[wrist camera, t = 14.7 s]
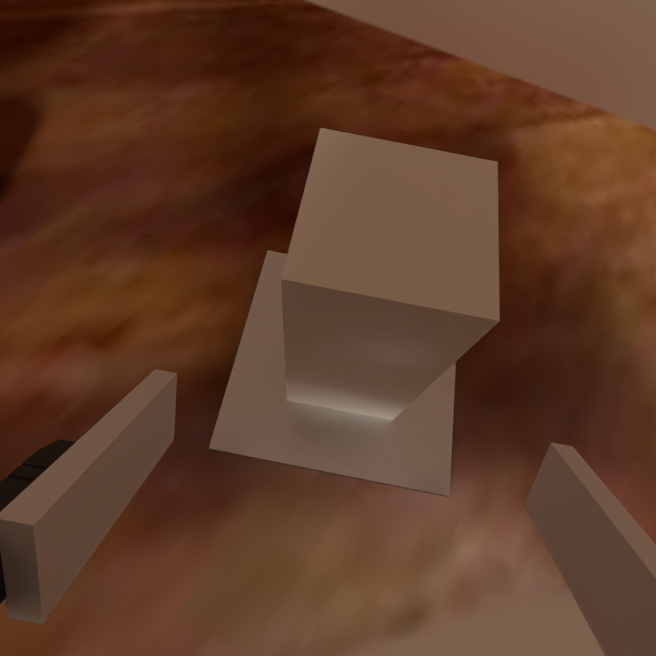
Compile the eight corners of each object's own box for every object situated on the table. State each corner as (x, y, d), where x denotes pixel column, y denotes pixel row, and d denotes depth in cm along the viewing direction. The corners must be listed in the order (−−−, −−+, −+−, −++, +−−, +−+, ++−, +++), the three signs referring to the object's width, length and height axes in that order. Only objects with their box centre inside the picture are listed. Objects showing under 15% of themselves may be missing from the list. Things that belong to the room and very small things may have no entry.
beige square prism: (286, 400, 21) (281, 279, 10) (307, 306, 23) (320, 127, 13) (392, 420, 21) (499, 320, 10) (402, 325, 23) (497, 161, 13)
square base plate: (210, 450, 20) (171, 419, 14) (268, 255, 25) (259, 164, 19) (445, 496, 20) (519, 488, 14) (455, 292, 25) (513, 214, 19)
